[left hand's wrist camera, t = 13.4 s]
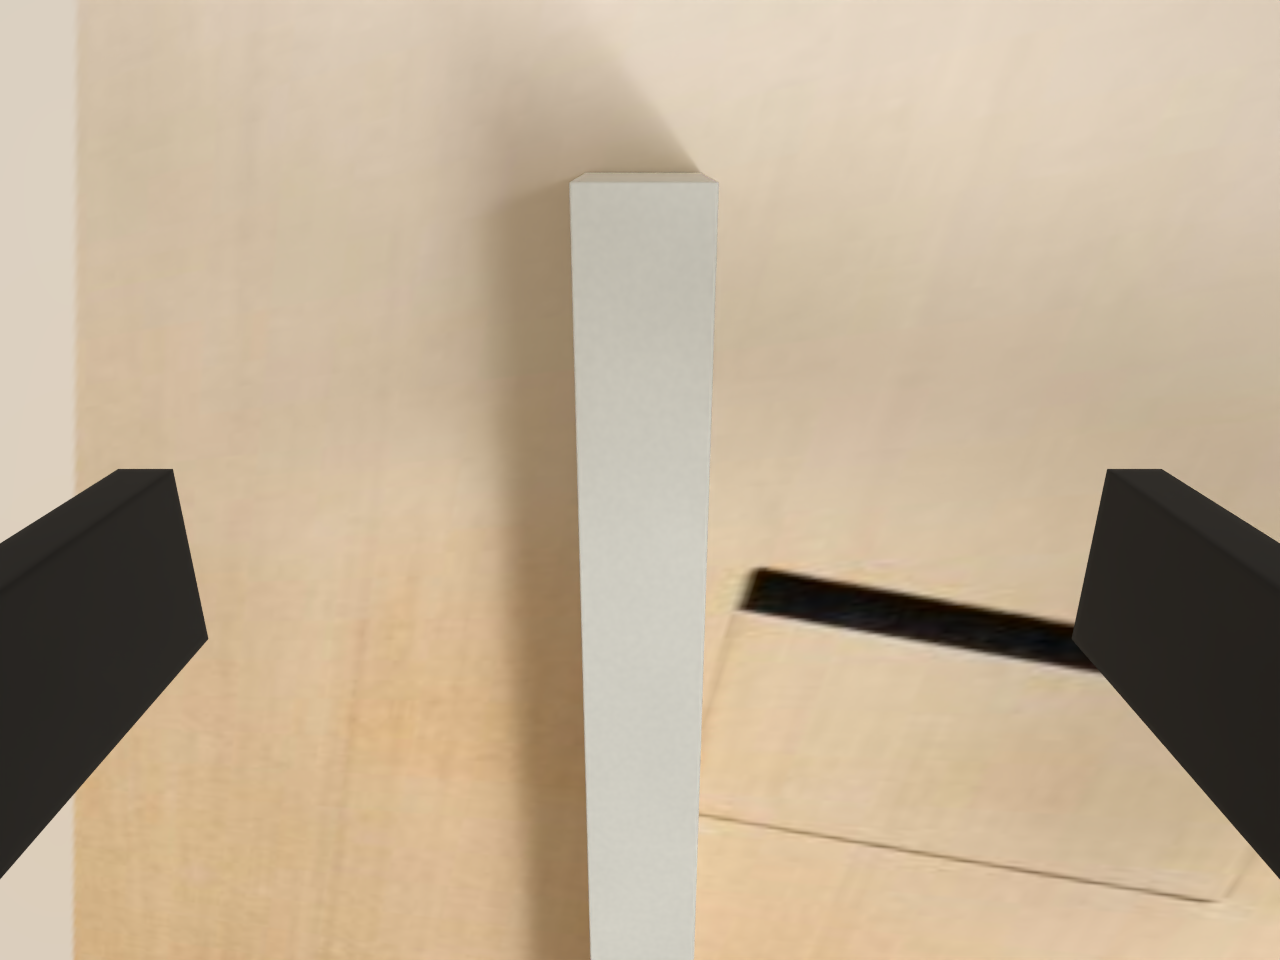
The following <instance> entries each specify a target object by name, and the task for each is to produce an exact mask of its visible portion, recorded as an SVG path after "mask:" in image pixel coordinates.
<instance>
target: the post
mask: <svg viewBox="0 0 1280 960" xmlns="http://www.w3.org/2000/svg"><path fill="white" fill-rule="evenodd" d="M569 196H570V233H571V269H572V306H573V342H574V379H575V415H576V452H577V488H578V525H579V561H580V598H581V635H582V671H583V708H584V744H585V781H586V817H587V854H588V890H589V927H590V960H694V942H695V911H696V880H697V849H698V818H699V787H700V756H701V726H702V695H703V664H704V633H705V602H706V571H707V540H708V509H709V478H710V447H711V416H712V385H713V354H714V323H715V292H716V261H717V230H718V199H719V183H718V182H717V181H715V180H713V179H712V178H710V177H708V176H706V175H704V174H703V173H652V172H586V173H584V174H582V175H581V176H579V177H577V178H576V179H574V180H572V181H571V182H570V183H569Z"/></svg>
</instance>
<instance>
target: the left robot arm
mask: <svg viewBox="0 0 1280 960" xmlns="http://www.w3.org/2000/svg"><path fill="white" fill-rule="evenodd" d="M207 640H208V635H207V630H206V626H205V621H204V616H203V611H202V607H201V602H200V597H199V592H198V587H197V583H196V578H195V573H194V568H193V563H192V559H191V554H190V549H189V544H188V540H187V535H186V530H185V525H184V520H183V516H182V511H181V506H180V501H179V496H178V492H177V487H176V482H175V477H174V473H173V469H118V470H116V471H114V472H113V473H111V474H110V475H108V476H107V477H105V478H103V479H102V480H100V481H99V482H97V483H95V484H94V485H92V486H91V487H89V488H87V489H86V490H84V491H83V492H81V493H80V494H78V495H76V496H75V497H73V498H72V499H70V500H68V501H67V502H65V503H64V504H62V505H60V506H59V507H57V508H56V509H54V510H53V511H51V512H49V513H48V514H46V515H45V516H43V517H41V518H40V519H38V520H37V521H35V522H34V523H32V524H30V525H29V526H27V527H26V528H24V529H22V530H21V531H19V532H18V533H16V534H14V535H13V536H11V537H10V538H8V539H6V540H5V541H3V542H2V543H0V879H1V878H2V876H3V875H4V874H5V873H6V872H7V871H8V869H9V868H10V867H11V866H12V865H13V864H14V863H15V861H16V860H17V859H18V858H19V857H20V856H21V854H22V853H23V852H24V851H25V850H26V849H27V847H28V846H29V845H30V844H31V843H32V842H33V841H34V839H35V838H36V837H37V836H38V835H39V834H40V833H41V831H42V830H43V829H44V828H45V827H46V826H47V824H48V823H49V822H50V821H51V820H52V819H53V818H54V816H55V815H56V814H57V813H58V812H59V811H60V809H61V808H62V807H63V806H64V805H65V804H66V803H67V801H68V800H69V799H70V798H71V797H72V796H73V794H74V793H75V792H76V791H77V790H78V789H79V788H80V786H81V785H82V784H83V783H84V782H85V781H86V779H87V778H88V777H89V776H90V775H91V774H92V773H93V771H94V770H95V769H96V768H97V767H98V766H99V764H100V763H101V762H102V761H103V760H104V759H105V758H106V756H107V755H108V754H109V753H110V752H111V751H112V749H113V748H114V747H115V746H116V745H117V744H118V743H119V741H120V740H121V739H122V738H123V737H124V736H125V734H126V733H127V732H128V731H129V730H130V729H131V728H132V726H133V725H134V724H135V723H136V722H137V721H138V719H139V718H140V717H141V716H142V715H143V714H144V712H145V711H146V710H147V709H148V708H149V707H150V706H151V704H152V703H153V702H154V701H155V700H156V699H157V697H158V696H159V695H160V694H161V693H162V692H163V691H164V689H165V688H166V687H167V686H168V685H169V684H170V682H171V681H172V680H173V679H174V678H175V677H176V676H177V674H178V673H179V672H180V671H181V670H182V669H183V667H184V666H185V665H186V664H187V663H188V662H189V661H190V659H191V658H192V657H193V656H194V655H195V654H196V652H197V651H198V650H199V649H200V648H201V647H202V646H203V644H204V643H205V642H206V641H207ZM1072 640H1073V641H1074V642H1075V643H1076V644H1077V646H1078V647H1079V648H1080V649H1081V650H1082V651H1083V652H1084V654H1085V655H1086V656H1087V657H1088V658H1089V659H1090V661H1091V662H1092V663H1093V664H1094V665H1095V666H1096V667H1097V669H1098V670H1099V671H1100V672H1101V673H1102V674H1103V676H1104V677H1105V678H1106V679H1107V680H1108V681H1109V682H1110V684H1111V685H1112V686H1113V687H1114V688H1115V689H1116V691H1117V692H1118V693H1119V694H1120V695H1121V696H1122V697H1123V699H1124V700H1125V701H1126V702H1127V703H1128V704H1129V706H1130V707H1131V708H1132V709H1133V710H1134V711H1135V712H1136V714H1137V715H1138V716H1139V717H1140V718H1141V719H1142V721H1143V722H1144V723H1145V724H1146V725H1147V726H1148V728H1149V729H1150V730H1151V731H1152V732H1153V733H1154V734H1155V736H1156V737H1157V738H1158V739H1159V740H1160V741H1161V743H1162V744H1163V745H1164V746H1165V747H1166V748H1167V749H1168V751H1169V752H1170V753H1171V754H1172V755H1173V756H1174V758H1175V759H1176V760H1177V761H1178V762H1179V763H1180V764H1181V766H1182V767H1183V768H1184V769H1185V770H1186V771H1187V773H1188V774H1189V775H1190V776H1191V777H1192V778H1193V779H1194V781H1195V782H1196V783H1197V784H1198V785H1199V786H1200V788H1201V789H1202V790H1203V791H1204V792H1205V793H1206V794H1207V796H1208V797H1209V798H1210V799H1211V800H1212V801H1213V803H1214V804H1215V805H1216V806H1217V807H1218V808H1219V809H1220V811H1221V812H1222V813H1223V814H1224V815H1225V816H1226V818H1227V819H1228V820H1229V821H1230V822H1231V823H1232V824H1233V826H1234V827H1235V828H1236V829H1237V830H1238V831H1239V833H1240V834H1241V835H1242V836H1243V837H1244V838H1245V839H1246V841H1247V842H1248V843H1249V844H1250V845H1251V846H1252V848H1253V849H1254V850H1255V851H1256V852H1257V853H1258V854H1259V856H1260V857H1261V858H1262V859H1263V860H1264V861H1265V863H1266V864H1267V865H1268V866H1269V867H1270V868H1271V869H1272V871H1273V872H1274V873H1275V874H1276V875H1277V876H1278V878H1279V879H1280V543H1278V542H1277V541H1275V540H1274V539H1272V538H1270V537H1269V536H1267V535H1266V534H1264V533H1262V532H1261V531H1259V530H1258V529H1256V528H1254V527H1253V526H1251V525H1250V524H1248V523H1247V522H1245V521H1243V520H1242V519H1240V518H1239V517H1237V516H1235V515H1234V514H1232V513H1231V512H1229V511H1227V510H1226V509H1224V508H1223V507H1221V506H1220V505H1218V504H1216V503H1215V502H1213V501H1212V500H1210V499H1208V498H1207V497H1205V496H1204V495H1202V494H1200V493H1199V492H1197V491H1196V490H1194V489H1193V488H1191V487H1189V486H1188V485H1186V484H1185V483H1183V482H1181V481H1180V480H1178V479H1177V478H1175V477H1173V476H1172V475H1170V474H1169V473H1167V472H1166V471H1164V470H1162V469H1107V473H1106V477H1105V482H1104V487H1103V492H1102V496H1101V501H1100V506H1099V511H1098V516H1097V520H1096V525H1095V530H1094V535H1093V540H1092V544H1091V549H1090V554H1089V559H1088V563H1087V568H1086V573H1085V578H1084V583H1083V587H1082V592H1081V597H1080V602H1079V607H1078V611H1077V616H1076V621H1075V626H1074V630H1073V635H1072Z"/></svg>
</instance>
